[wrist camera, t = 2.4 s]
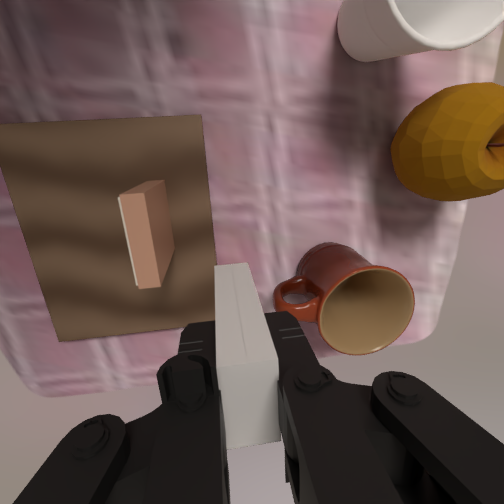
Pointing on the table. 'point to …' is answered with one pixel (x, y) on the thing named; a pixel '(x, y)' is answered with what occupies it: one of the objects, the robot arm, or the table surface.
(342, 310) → the mug
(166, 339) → the table surface
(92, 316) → the board
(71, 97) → the table surface
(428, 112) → the apple
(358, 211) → the table surface
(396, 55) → the cup
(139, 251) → the tile
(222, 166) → the table surface
